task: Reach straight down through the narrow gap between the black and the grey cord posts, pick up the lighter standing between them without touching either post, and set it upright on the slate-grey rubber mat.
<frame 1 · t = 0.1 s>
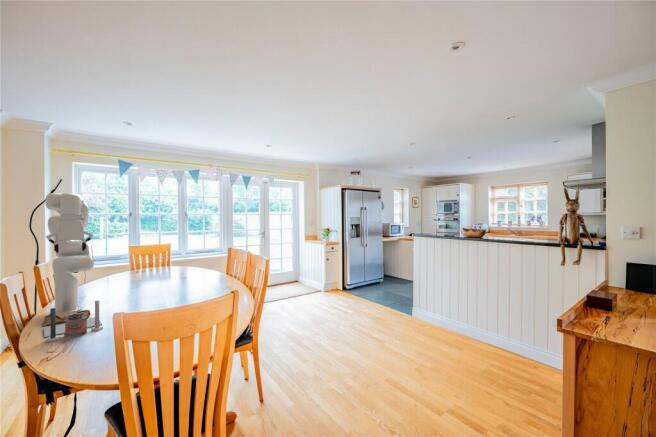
hand: (70, 251, 137), 37 cm above the table, tool pointing down, fingers open, 9 cm apart
sunglasses case: (66, 322, 141), on the table
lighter: (76, 335, 125), on the table
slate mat: (73, 327, 133), on the table
grey cord post: (97, 329, 131), on the table
black cord post: (53, 339, 120), on the table
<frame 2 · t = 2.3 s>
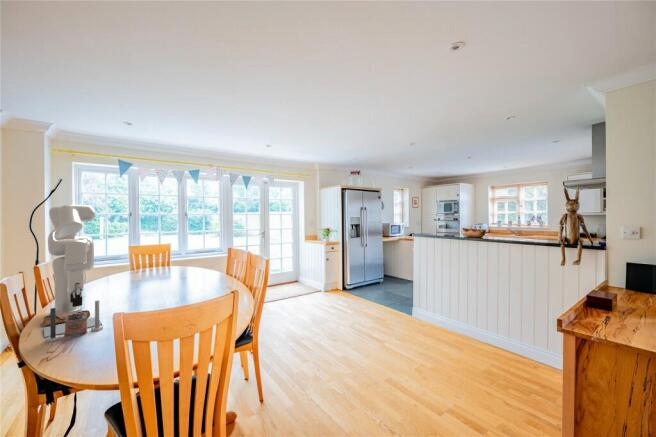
hand: (76, 303, 125), 14 cm above the table, tool pointing down, fingers open, 9 cm apart
nothing on the table moved.
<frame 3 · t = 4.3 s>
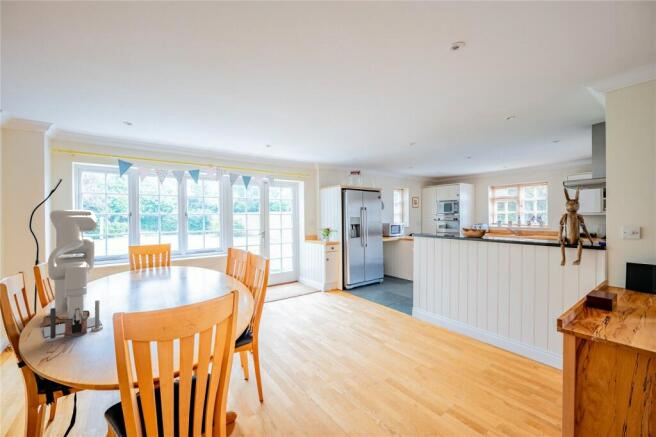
hand: (76, 330, 125), 2 cm above the table, tool pointing down, fingers closed on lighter, 4 cm apart
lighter: (76, 334, 125), on the table, touching gripper
everything else where it was.
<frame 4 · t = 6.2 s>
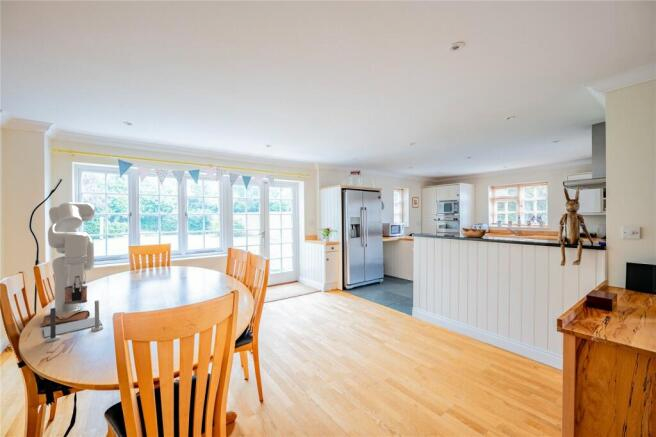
hand: (75, 298, 125), 17 cm above the table, tool pointing down, fingers closed on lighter, 4 cm apart
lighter: (75, 303, 125), point 14 cm above the table, touching gripper
everything else where it was.
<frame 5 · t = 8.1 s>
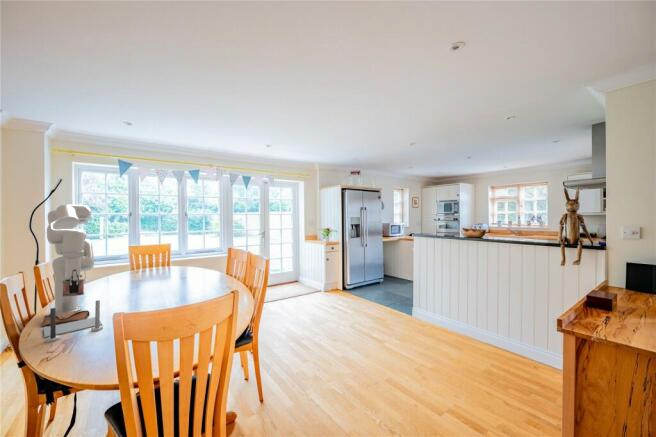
hand: (73, 291, 133), 18 cm above the table, tool pointing down, fingers closed on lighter, 4 cm apart
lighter: (73, 295, 133), point 16 cm above the table, touching gripper
everything else where it was.
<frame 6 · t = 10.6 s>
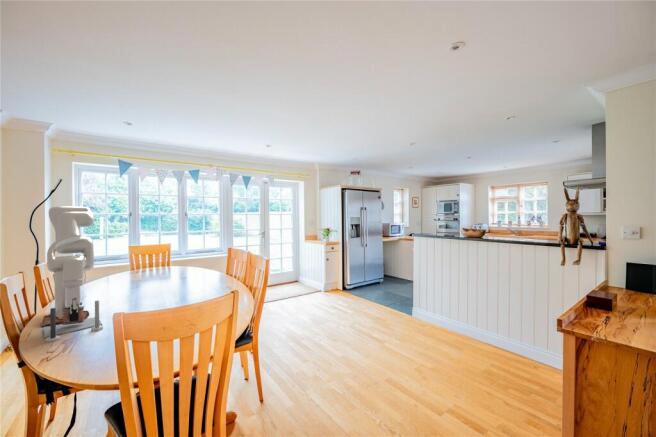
hand: (73, 319, 133), 4 cm above the table, tool pointing down, fingers closed on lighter, 4 cm apart
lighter: (73, 323, 134), point 2 cm above the table, touching gripper
everything else where it was.
when the fingers open (4 cm above the table, at t = 11.2 s): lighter drops 1 cm, resting on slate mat.
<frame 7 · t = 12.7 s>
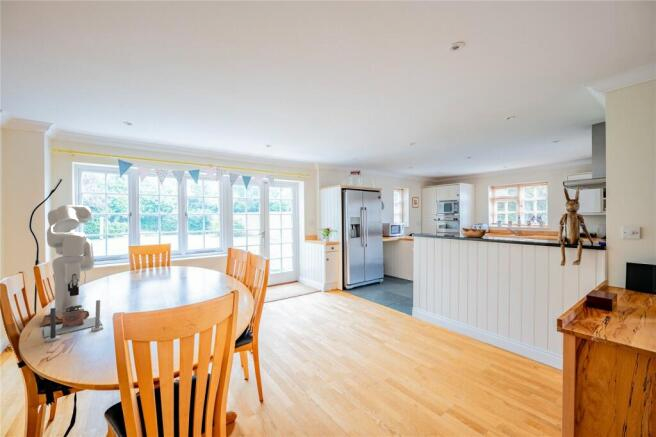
hand: (73, 293, 134), 17 cm above the table, tool pointing down, fingers open, 9 cm apart
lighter: (73, 325, 134), resting on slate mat
everything else where it was.
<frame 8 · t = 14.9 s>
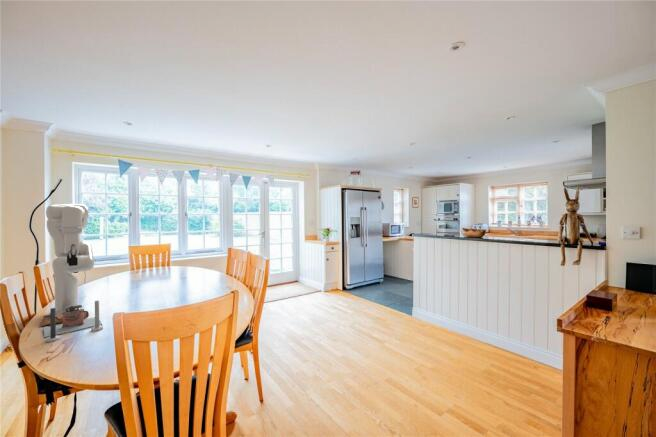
hand: (72, 264, 137), 30 cm above the table, tool pointing down, fingers open, 9 cm apart
nothing on the table moved.
at the end: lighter inside the target area on the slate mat (0.4 cm from its centre), point 0.4 cm above the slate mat's base; black cord post moved 0.0 cm from its start; grey cord post moved 0.1 cm from its start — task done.
